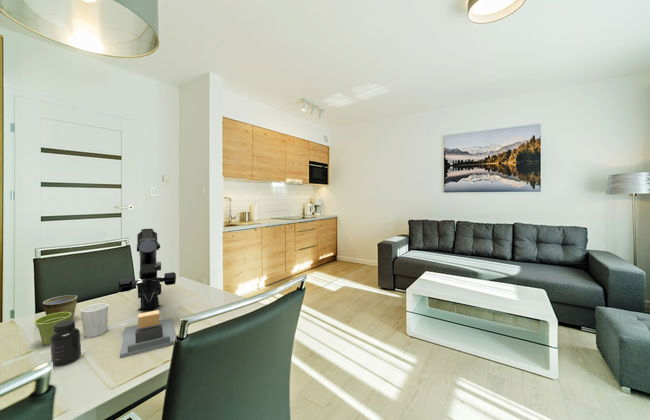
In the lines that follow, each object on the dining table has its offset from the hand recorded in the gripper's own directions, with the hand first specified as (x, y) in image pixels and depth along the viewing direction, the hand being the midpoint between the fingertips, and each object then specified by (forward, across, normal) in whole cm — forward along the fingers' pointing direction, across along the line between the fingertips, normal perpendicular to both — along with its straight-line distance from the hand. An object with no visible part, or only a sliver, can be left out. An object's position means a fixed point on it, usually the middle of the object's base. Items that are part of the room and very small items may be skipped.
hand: (149, 301), depth 102 cm
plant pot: (+1, -29, +16) cm, 33 cm away
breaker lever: (+10, 0, -1) cm, 10 cm away
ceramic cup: (-11, -31, +29) cm, 44 cm away
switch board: (+11, 0, +6) cm, 13 cm away
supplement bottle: (+13, -22, +4) cm, 26 cm away
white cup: (+2, -17, +16) cm, 24 cm away
